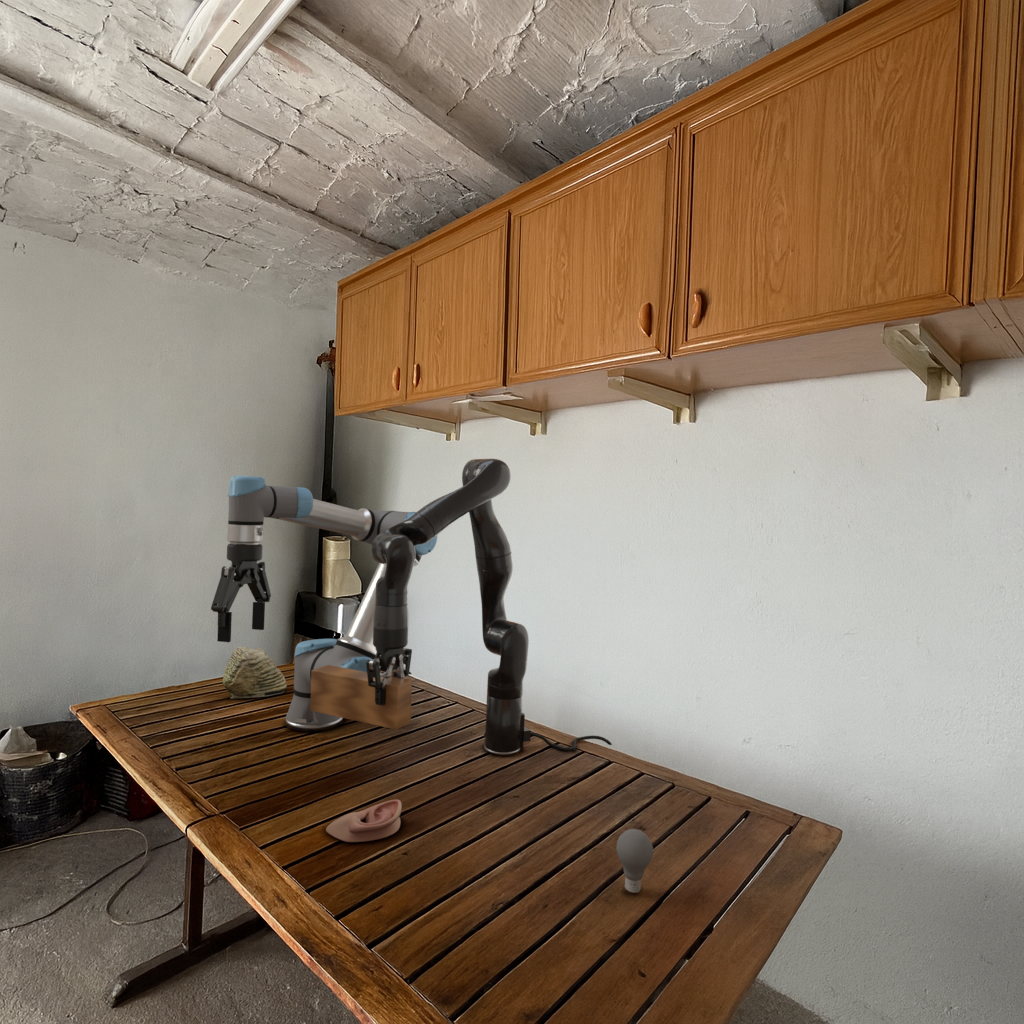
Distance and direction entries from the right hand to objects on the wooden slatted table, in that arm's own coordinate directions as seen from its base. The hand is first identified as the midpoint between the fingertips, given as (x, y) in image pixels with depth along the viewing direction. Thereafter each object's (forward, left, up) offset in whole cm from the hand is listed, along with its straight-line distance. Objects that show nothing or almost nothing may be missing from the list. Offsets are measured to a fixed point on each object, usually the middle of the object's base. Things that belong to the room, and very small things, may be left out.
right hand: (388, 700), depth 139 cm
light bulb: (-27, +52, -19) cm, 62 cm away
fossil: (+20, -76, -19) cm, 81 cm away
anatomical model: (+9, +16, -19) cm, 26 cm away
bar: (+5, -6, -5) cm, 9 cm away
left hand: (+29, -22, +11) cm, 38 cm away
